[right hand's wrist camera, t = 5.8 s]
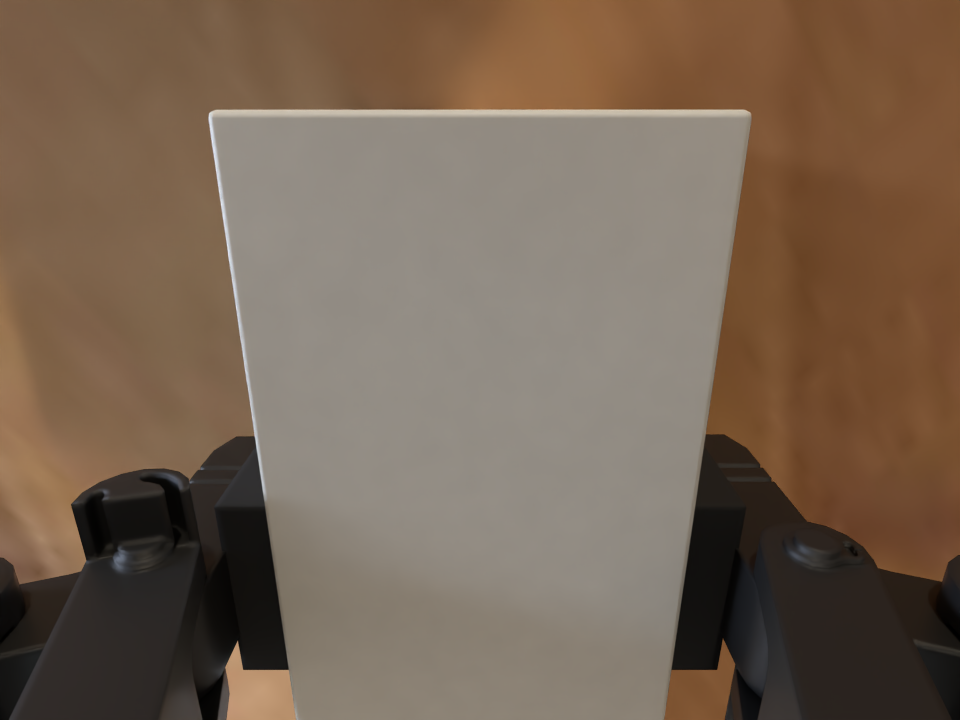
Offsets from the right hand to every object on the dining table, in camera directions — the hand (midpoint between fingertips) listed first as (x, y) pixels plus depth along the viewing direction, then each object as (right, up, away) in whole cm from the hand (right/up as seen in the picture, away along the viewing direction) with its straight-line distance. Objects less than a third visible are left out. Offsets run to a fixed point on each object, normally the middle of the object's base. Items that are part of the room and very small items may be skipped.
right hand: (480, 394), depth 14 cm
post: (0, -23, +9) cm, 24 cm away
